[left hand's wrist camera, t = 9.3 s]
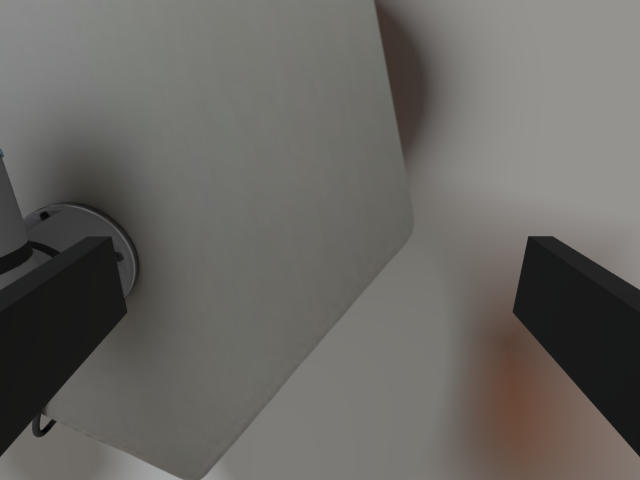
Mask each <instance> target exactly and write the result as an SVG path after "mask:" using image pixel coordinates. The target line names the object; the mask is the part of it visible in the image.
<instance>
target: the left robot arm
mask: <svg viewBox="0 0 640 480" xmlns="http://www.w3.org/2000/svg"><path fill="white" fill-rule="evenodd" d="M2 157H4V155H3V152H2V150H1V149H0V457H1V455H2V454H3V453H4V452H5V451H6V450H7V449H8V447H9V446H10V445H11V444H12V443H13V442H14V441H15V439H16V438H17V437H18V436H19V435H20V434H21V433H22V431H23V430H24V429H25V428H26V427H27V426H28V425H29V423H30V422H31V421H32V420H33V423H32V431H33V434H34V435H35V436H36V437H42V436H44V435H45V434H46V433H48V432H49V431H50V429H51V428H52V427H53V426H54V425H55V423H56V422H57V421H55V420H53V419H51V420H50V422H49V423H48V424H47V425H46V426H45V427H44V428H43V429H42V430H40V417H41V412H42V409H43V408H44V406H45V405H46V404H47V403H48V402H49V401H50V400H51V398H52V397H53V396H54V395H55V394H56V393H57V392H58V391H59V389H60V388H61V387H62V386H63V385H64V384H65V383H66V381H67V380H68V379H69V378H70V377H71V376H72V375H73V373H74V372H75V371H76V370H77V369H78V368H79V367H80V365H81V364H82V363H83V362H84V361H85V360H86V359H87V358H88V356H89V355H90V354H91V353H92V352H93V351H94V350H95V348H96V347H97V346H98V345H99V344H100V343H101V342H102V340H103V339H104V338H105V337H106V336H107V335H108V334H109V333H110V331H111V330H112V329H113V328H114V327H115V326H116V325H117V323H118V322H119V321H120V320H121V319H122V318H123V317H124V315H125V314H126V313H127V308H126V303H125V299H124V298H125V297H126V296H127V295H128V294H129V293H130V291H131V290H132V289H133V287H134V285H135V283H136V280H137V276H138V257H137V253H136V250H135V248H134V245H133V243H132V241H131V240H130V238H129V236H128V235H127V233H126V232H125V231H124V230H123V229H122V227H121V226H120V225H119V224H118V223H116V222H115V221H114V220H113V219H112V218H110V217H109V216H107V215H106V214H104V213H103V212H101V211H99V210H97V209H94V208H92V207H89V206H86V205H82V204H78V203H56V204H52V205H48V206H46V207H43V208H41V209H38V210H36V211H34V212H33V213H31V214H30V215H28V216H27V217H25V218H24V219H23V218H22V215H21V212H20V209H19V207H18V204H17V201H16V198H15V195H14V192H13V189H12V186H11V183H10V180H9V177H8V174H7V171H6V168H5V165H4V162H3V159H2ZM513 313H514V314H515V315H516V317H517V318H518V319H519V320H520V321H521V322H522V323H523V325H524V326H525V327H526V328H527V329H528V330H529V331H530V332H531V334H532V335H533V336H534V337H535V338H536V339H537V340H538V342H539V343H540V344H541V345H542V346H543V347H544V348H545V350H546V351H547V352H548V353H549V354H550V355H551V356H552V358H553V359H554V360H555V361H556V362H557V363H558V364H559V365H560V367H561V368H562V369H563V370H564V371H565V372H566V373H567V375H568V376H569V377H570V378H571V379H572V380H573V381H574V383H575V384H576V385H577V386H578V387H579V388H580V389H581V391H582V392H583V393H584V394H585V395H586V396H587V397H588V398H589V400H590V401H591V402H592V403H593V404H594V405H595V406H596V408H597V409H598V410H599V411H600V412H601V413H602V414H603V416H604V417H605V418H606V419H607V420H608V421H609V422H610V423H611V425H612V426H613V427H614V428H615V429H616V430H617V431H618V433H619V434H620V435H621V436H622V437H623V438H624V439H625V441H626V442H627V443H628V444H629V445H630V446H631V447H632V449H633V450H634V451H635V452H636V453H637V454H638V455H639V456H640V290H639V289H637V288H636V287H634V286H632V285H631V284H629V283H628V282H626V281H624V280H623V279H621V278H619V277H618V276H616V275H615V274H613V273H611V272H610V271H608V270H606V269H605V268H603V267H602V266H600V265H598V264H597V263H595V262H593V261H592V260H590V259H589V258H587V257H585V256H584V255H582V254H581V253H579V252H577V251H576V250H574V249H572V248H571V247H569V246H568V245H566V244H564V243H563V242H561V241H559V240H558V239H556V238H555V237H553V236H529V237H528V241H527V245H526V250H525V255H524V260H523V265H522V269H521V274H520V279H519V284H518V289H517V294H516V299H515V303H514V308H513Z"/></svg>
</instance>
